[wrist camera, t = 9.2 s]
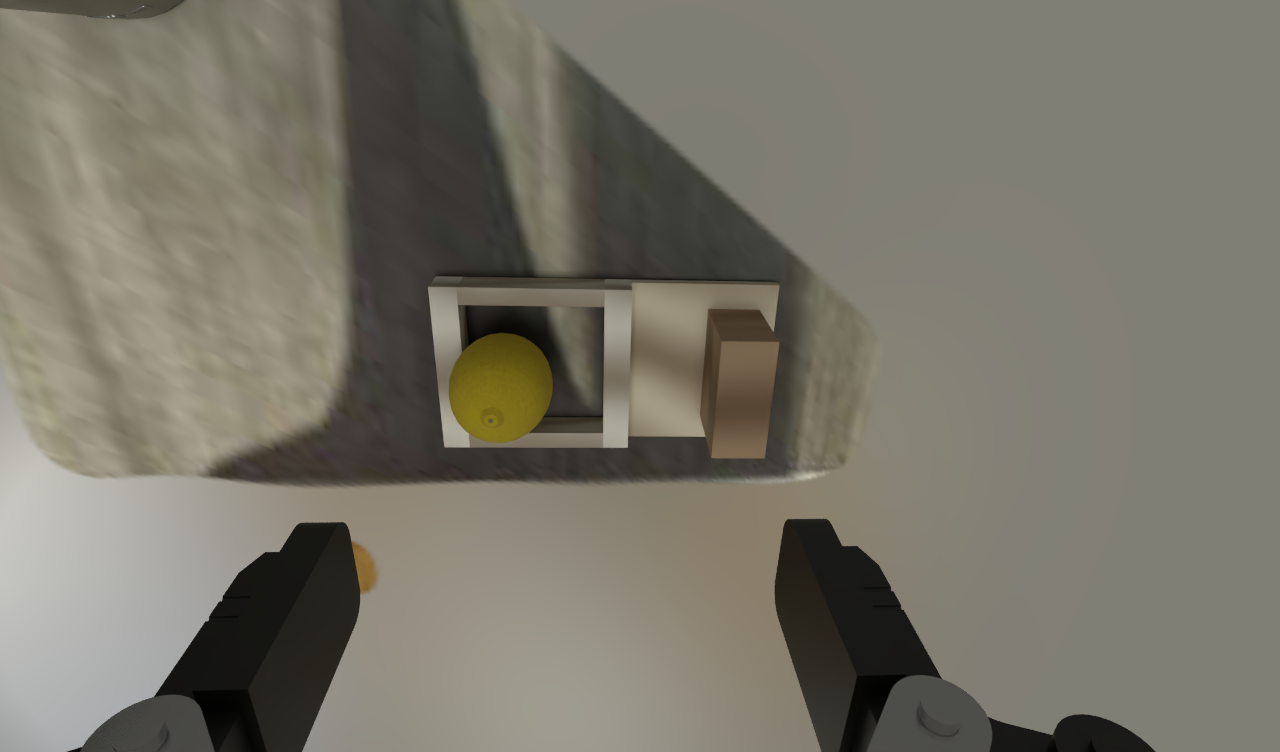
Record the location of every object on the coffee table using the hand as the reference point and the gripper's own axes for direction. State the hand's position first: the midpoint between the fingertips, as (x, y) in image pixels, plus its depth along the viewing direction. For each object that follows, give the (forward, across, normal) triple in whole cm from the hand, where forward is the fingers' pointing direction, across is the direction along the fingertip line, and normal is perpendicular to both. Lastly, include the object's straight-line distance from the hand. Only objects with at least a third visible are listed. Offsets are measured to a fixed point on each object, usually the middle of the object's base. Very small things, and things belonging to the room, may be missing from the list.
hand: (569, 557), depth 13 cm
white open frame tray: (+28, -2, +8) cm, 29 cm away
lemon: (+28, +4, +8) cm, 29 cm away
